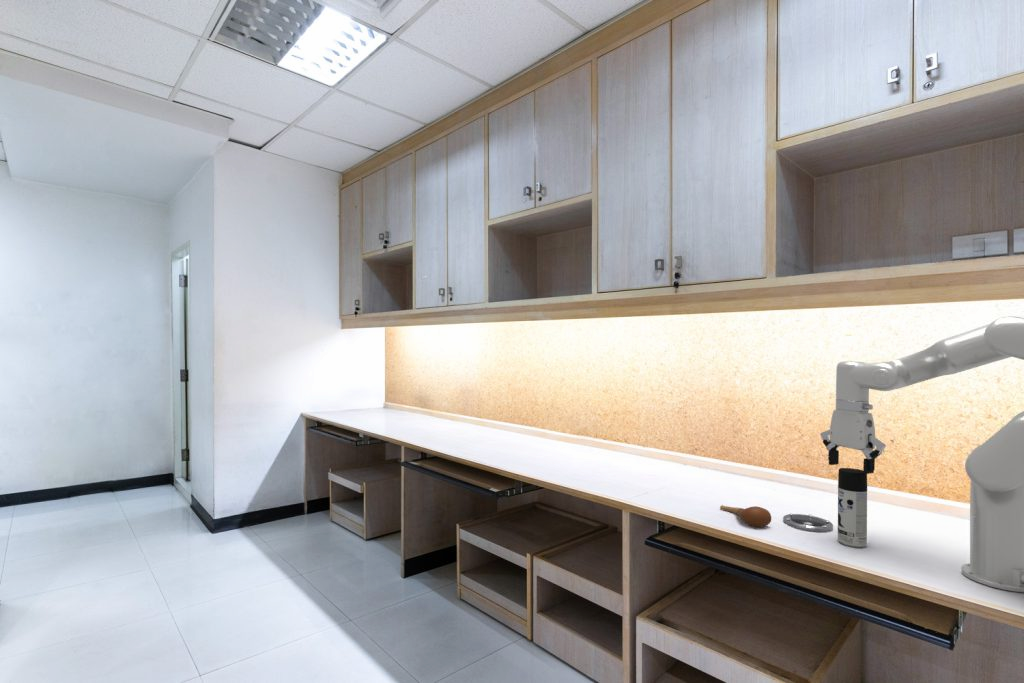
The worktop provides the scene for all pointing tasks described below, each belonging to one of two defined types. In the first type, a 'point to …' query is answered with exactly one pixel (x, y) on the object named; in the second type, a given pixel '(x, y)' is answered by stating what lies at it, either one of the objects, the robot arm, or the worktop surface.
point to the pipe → (751, 515)
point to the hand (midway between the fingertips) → (850, 468)
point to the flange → (808, 523)
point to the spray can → (852, 507)
